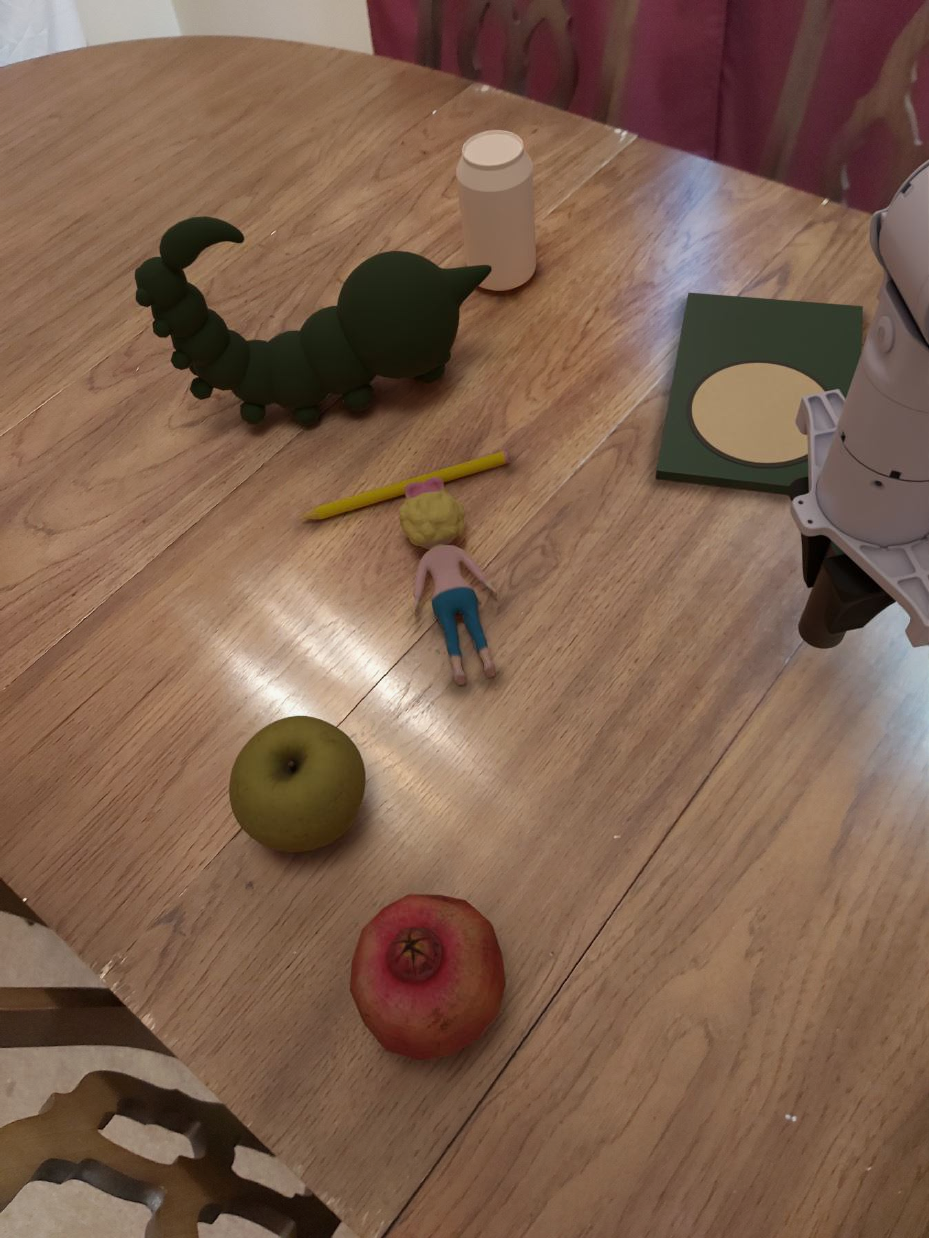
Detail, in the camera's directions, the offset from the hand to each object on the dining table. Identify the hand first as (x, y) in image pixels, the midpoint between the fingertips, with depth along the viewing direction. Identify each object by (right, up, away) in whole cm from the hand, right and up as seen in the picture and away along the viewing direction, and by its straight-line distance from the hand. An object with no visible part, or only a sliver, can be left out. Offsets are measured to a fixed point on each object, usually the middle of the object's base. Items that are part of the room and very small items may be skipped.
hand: (833, 602), depth 52 cm
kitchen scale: (+3, +17, +21) cm, 27 cm away
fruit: (-22, -22, 0) cm, 31 cm away
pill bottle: (0, -2, +2) cm, 3 cm away
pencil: (-25, +9, +19) cm, 33 cm away
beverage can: (-17, +30, +32) cm, 47 cm away
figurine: (-22, +1, +14) cm, 26 cm away
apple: (-30, -13, +6) cm, 33 cm away
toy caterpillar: (-30, +18, +26) cm, 43 cm away
